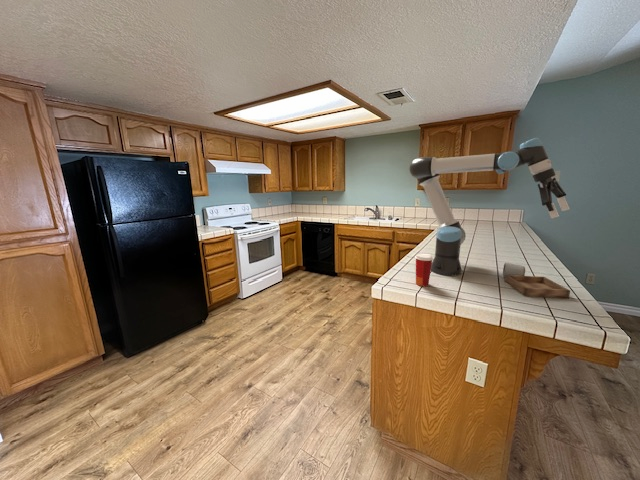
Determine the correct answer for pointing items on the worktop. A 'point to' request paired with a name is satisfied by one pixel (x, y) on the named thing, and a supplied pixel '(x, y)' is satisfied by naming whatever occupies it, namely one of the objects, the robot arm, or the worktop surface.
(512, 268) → the ceramic mug
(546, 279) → the tray
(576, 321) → the worktop surface
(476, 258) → the worktop surface
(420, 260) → the paper cup
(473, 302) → the worktop surface
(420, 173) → the robot arm
